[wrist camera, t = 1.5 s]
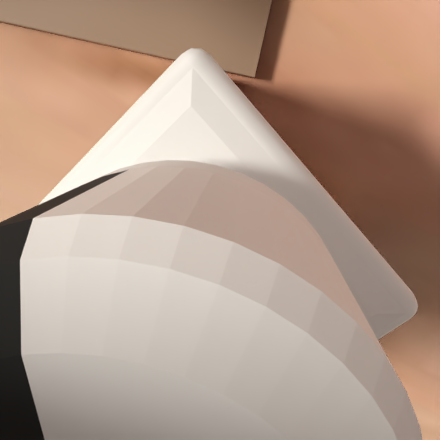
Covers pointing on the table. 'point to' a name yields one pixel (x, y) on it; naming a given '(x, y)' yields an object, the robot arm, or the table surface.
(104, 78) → the table surface
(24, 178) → the table surface
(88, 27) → the brown panel with frame
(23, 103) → the table surface
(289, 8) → the table surface
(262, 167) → the medicine bottle
